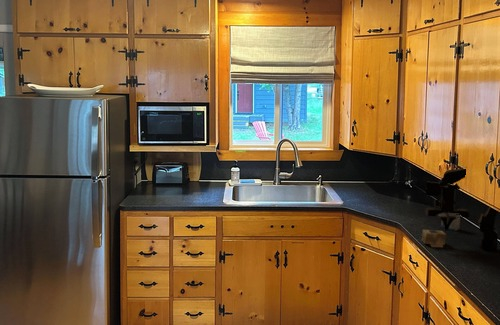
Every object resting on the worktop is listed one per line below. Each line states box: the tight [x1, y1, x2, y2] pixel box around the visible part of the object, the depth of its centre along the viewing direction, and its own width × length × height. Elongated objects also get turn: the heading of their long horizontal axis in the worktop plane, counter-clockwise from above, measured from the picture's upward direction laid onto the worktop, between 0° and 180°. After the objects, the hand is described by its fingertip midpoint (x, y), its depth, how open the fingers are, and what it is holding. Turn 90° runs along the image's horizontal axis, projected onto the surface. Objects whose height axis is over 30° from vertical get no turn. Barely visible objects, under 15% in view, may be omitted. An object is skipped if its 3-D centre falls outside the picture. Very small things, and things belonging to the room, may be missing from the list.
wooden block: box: [421, 229, 447, 246], centre depth 263 cm, size 5×6×9 cm
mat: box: [429, 244, 444, 248], centre depth 264 cm, size 5×10×1 cm, turn 177°
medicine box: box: [440, 214, 461, 232], centre depth 289 cm, size 8×4×9 cm, turn 45°
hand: (445, 230), depth 262 cm, fingers closed
